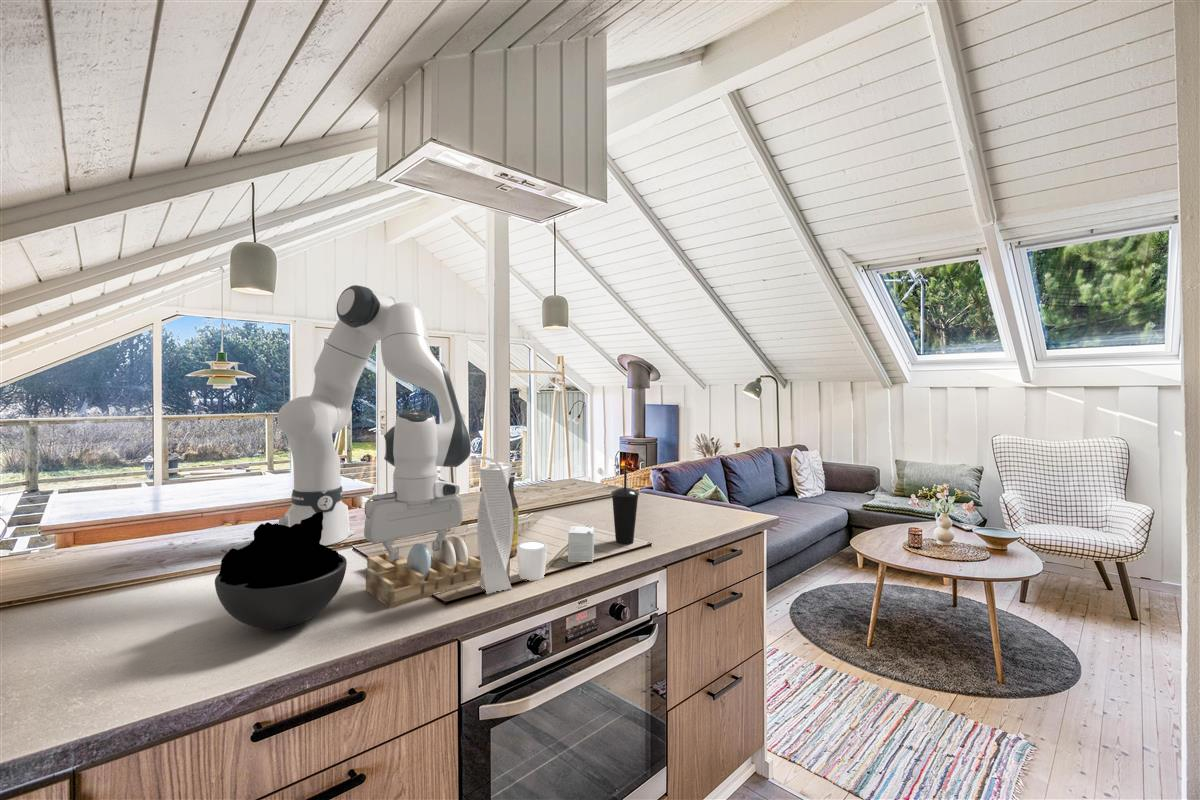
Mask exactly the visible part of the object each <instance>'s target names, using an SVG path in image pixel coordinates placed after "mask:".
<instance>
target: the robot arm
mask: <svg viewBox="0 0 1200 800" xmlns="http://www.w3.org/2000/svg"><path fill="white" fill-rule="evenodd" d="M336 314H337V318H338V320H337V321H336V323H335V325H334V326H333V328H332V330H331V332H330V334H329V335H328V338H327V339H326V342H325V343H324V346H323V348H322V349H321V352H320V354H319V357H318V359H317V361H316V362H315V364H314V367H313V372H314V383H313V384H314V385H313V389H312V392H311V394H310V395H306V396H298V397H296V398H294V399H292V400H289V401H287V402H285V403H284V404H283V405H282V406H281V407H280V408H279V410H278V412H277V417H276V418H277V419H276V420H277V421H276V422H277V425H278V428H279V429H280V431H281V432H282V433H283V434H284V435H285V437H286V439H287V442H288V445H289V449H290V451H291V456H292V463H293V489H292V492H291V499H290V500H291V501H290V502H291V504H290V507H289V508H288V510H287V511H285V513H284V516H283V517H281V516H280V517H278V524H279V525H285V526H289V527H291V526H293V525H294V524H300V523H301V520H304V519H307V518H309V517H312V515H313V514H315V513H318V512H321V511H322V512H323V518H324V519H323V521H322V524H323V530H322V535H321V540H320V544H321V545H324V546H329V545H334V544H338V543H340V542H343V541H344V540H347V538H349V537H350V536H352V535H354V534H356V532H355V529H353V528H350V520H349V519H350V516H349V506H348V505H347V504H346V503H344V502H343V501H342V500H343V496H344V495H343V494H344V491H343V486H342V484H341V457H340V455H339V454H338V452H337V451H336V448H335V445H334V440H333V435H332V434H336V433H338V432H340V431H342V430H343V429H344V428H346V426H348V425H349V423H350V422H351V420H352V417H353V411H352V406H353V401H354V398H355V397H354V396H355V393H356V388H357V385H358V384H359V380H360V378H361V376H362V374H363V372H364V370H365V367H366V365H367V364H368V361H369V358H370V357H371V354H372V351H373V349H374V347H375V345H376V343H377V342H378V341H380V349H381V351H380V353H381V358H382V363H383V367H384V368H385V369H386V370H387V372H388V373H389V374H390V375H391V376H393V377H394V378H396V379H397V380H400V381H401V382H404V383H407V384H411V385H414V386H416V387H419V388H422V389H424V390H426V391H427V392H430V393H431V394H432V395H433V396H434V397H435V399H436V402H437V403H436V404H437V406H438V411H439V413H440V417H441V419H442V420H441V421H442V423H436V417H435V416H434V415H433V413H431V412H429V411H426V410H418V409H417V410H415V409H414V410H406V411H402V412H399V413H398V414H397V415H396V418H395V424H394V426H392V427H391V428H390V429H388V430H387V432H385V434H384V435H383V437H384V440H385V442H384V443H385V444H384V445H385V446H384V447H385V448H384V449H385V453H384V458H383V459H384V460H385V461H386V462H387V463H389V464H390V466H393V467H394V470H393V475H392V476H393V478H392V483H393V485H392V488H393V489H392V492H388V493H383V494H374V495H372V496H371V497H369V499H367V500H366V501H365V504H364V514H365V520H364V521H365V522H364V530H363V531H364V532H363V536H364V538H365V539H366V540H367V541H368V542H369V543H372V544H378V543H382V545H383V546H384V548H385V549H386V551H387V552H388V559H389V560H390V561H395V560H399V555H400V551H398V550H397V549H394V548H393V547H392V546H393V545H394V544H395V540H397V539H402V538H407V537H412V536H417V535H421V534H422V535H423V534H428V533H431V532H436V533H438V534H437V536H436V537H435V540H433V541H431V550H432V551H433V550H434V551H438V550H441V549H442V542H443V540H444V538H446V536H447V533H448V529H451V528H457V527H459V526H460V525H461V524H462V523H463V519H464V518H463V517H464V514H463V501H462V499H461V496H459V495H458V494H460V493H461V487H460V485H459V484H457V483H454V482H451V481H447V480H444V479H441V478H439V470H438V468H437V467H443V468H445V467H446V468H448V467H449V468H458V467H460V466H461V465H463V463H464V462H465V461H466V460H467V459H468V458H470V456H471V448H472V442H471V441H472V440H471V437H470V435H469V431H468V429H467V426H466V424H465V422H464V419H463V416H462V413H461V409H460V406H459V403H458V400H457V396H456V392H455V390H454V386H453V381H452V380H451V377H450V374H449V371H448V369H447V368H446V365H445V364H444V363H442V362H441V361H439V360H438V359H437V358H436V357H435V356H434V354H433V352H432V349H431V347H430V339H429V332H428V327H427V323H426V319H425V316H424V313H423V311H422V310H421V309H420V308H419V307H418V306H417V305H414V304H413V303H409V302H402V301H400V300H398V299H396V298H395V297H392V296H389V295H385V294H384V293H380V292H378V291H376V290H372V289H370V288H369V287H366V286H363V285H356V284H354V285H351V286H349V287H347V288H345V289H344V290H343V291H342V292H341V293H340V295H339V298H338V300H337V302H336Z"/></svg>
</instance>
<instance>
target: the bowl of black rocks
mask: <svg viewBox="0 0 1200 800" xmlns="http://www.w3.org/2000/svg"><path fill="white" fill-rule="evenodd" d="M323 519H324V518H323V512H322V511H321V512H318V513H315V514H313V515H312V517H309V518H307V519H304V520H301V523H300V524H294V525H293V526H291V527H289V526H285V525H279V523H270V522H268V521H267V522H265V523H260V524H259V525H258V526H257V527H256V528H255V530H254V531H253V540H252V541H251V542H249V544H247V545H246V546H242V547H241V548H238V549H236V548H234V547H233V548H230V549H229V550H228V551H227V552H226V554H224V556H223V557H222V559H221V561H220V567H219V568H220V570H219V572H218V574H217V575H216V576H215V578H214V587H215V593H216V595H217V598H218V601H219V602H220V604H221V605H222V607H223V608H224V610H225V611H226V612H227V613H228V614H229V615H231V617H233V618H234V619H236V621H238V622H240V623H242V624H244V625H246V626H249V627H252V628H256V629H261V630H262V629H263V630H280V629H285V628H289V627H293V626H296V625H300V624H301V623H304V622H306V621H308V620H310V619H312V618H313V617H314V616H316V615H317V614H318V613H320V612H321V611H322V610H324V608H326V607H327V606H328V604H330V602H331V601H332V600H334V599H333V598H334V597H335V596H336V595H337V594H338V592H339V590H340V588H341V586H342V584H343V581H344V578H345V576H346V575H345V574H346V572H347V571H346V570H347V563H348V562H347V558H346V557H345V556H344V555H342V554H340V553H339V552H338V551H337V550H334V549H332V548H331V547H326V546H327V545H325V546H324V545H321V544H320V540H321V535H322V530H323V524H322V521H323Z"/></svg>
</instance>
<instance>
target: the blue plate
mask: <svg viewBox="0 0 1200 800" xmlns="http://www.w3.org/2000/svg"><path fill="white" fill-rule="evenodd" d="M431 555H432V554H431V551H430V549H429V546H428V545H426V544H424V543H415V544H414V545H412V547H411V548H410V549H409V552H408V554H407V558H406V559H407V566H408V567H410V568H412V569H413V570H415V571H417V572H419V573H420V574H422V575H424V581H425V580H426V579H427V577H428V575H429V572H430V567H431V557H432V556H431Z"/></svg>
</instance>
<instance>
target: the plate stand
mask: <svg viewBox="0 0 1200 800" xmlns="http://www.w3.org/2000/svg"><path fill="white" fill-rule="evenodd" d="M366 559H367V560H366V563H367V565H366V566H367V567H366V568H371V569H372V570H374V571H375V572H377V573H379V572H383V571H387V570H391V569H395V562H396V561H399V562H401V563H403V564H405V565H406V566H407V558H405V557H403V556H401V555H400V554H399V560H395V561H390V560H389V559H388V551H387V552H383V553H377V554H373V555H369V556H366Z"/></svg>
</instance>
